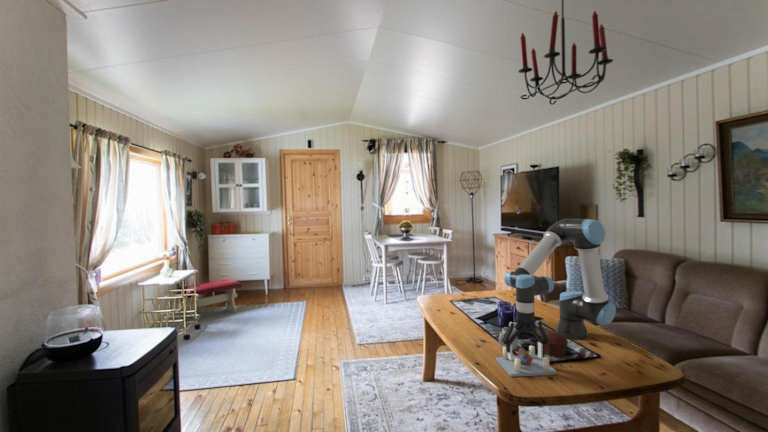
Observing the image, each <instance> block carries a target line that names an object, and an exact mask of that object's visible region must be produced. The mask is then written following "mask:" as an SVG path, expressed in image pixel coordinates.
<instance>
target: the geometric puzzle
mask: <svg viewBox="0 0 768 432" xmlns="http://www.w3.org/2000/svg"><path fill="white" fill-rule="evenodd" d="M529 353H530V350H529V349H528V350H526V349H524V348H522V347H520V348H519V349H518V350H517V354H516V355H515V356H517V357H519V358H520V359H521V365H522V363H525V362H526V363H527V365H529V366H530V365H531V362H532V360H533V359H534V358H533V357H532V356H530V355H529Z"/></svg>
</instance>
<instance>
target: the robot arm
mask: <svg viewBox="0 0 768 432" xmlns="http://www.w3.org/2000/svg"><path fill="white" fill-rule="evenodd" d="M605 237H606V231H605V228H604V225H603V224H602V223H601V222H600V221H598V220H597V219H590V218H563V219H561V220H559V221H557V222H555V223H554V224H552V225H551V226H550V227H548V228H547V229H546V231H544V233H543V238H542V239H541V240H540V241H539V242H538V243H537V244H536V245H535V247H534V248H533V249H532V250H531V251H530V253H529V254H528V255H527V256H526V257H525V258H524V260H523V261H522V262H521V263H520V264H519V265H518V267H517V268H516V269H515V270H514V271H513V270H510V271H509V270H508V271H507V272H506V273H505V275H504V280H503V281H504V283H505V284H506V286H508V287H509V288H512V289H515V322H512V321H508V326H507V327H508V328H507V330H506V333H505V335H504V337H503V339H502V342H503V343H504V344H506V351H507V352H508V358H509V360H510V361H512V357H513V350H512V345H511V344H512V342H513V341H514V340H515V339H516V337H517V336H518V337H519V335H521V333H532V334H533V335H534V337H536V339H537V340H538V342H537V355H538V357H539V358H540V359H543V356H544V355H543V353H544V345H545V344H546V342H549V340H548V338H547V336H546V334H545V333H546V332H545V330H544V328H543V324H542V323H543V322H542V321H540V320H539V319H537V320H536V321H535V297H536V296H541V295H547V294H549V293H552V292H553V291H554V289H555V281H554V280H553V279H552V278H551V277H549V276H546V275H545V276H543V275H542V276H536V275H534V274H535V273H536V272H537V271H538V269H540V267H541V266H542V265H543V263H545V261H546V260H547V259H548V257H550V255H551V254H552V253H553V251H555V249H556V248H557V247H560V246H561V245H562V244H563V243H565V242H571V243H573V248H574V249H575V250H577V252H578V253H577V254H578V259H579V264H580V271H581V277H582V285H583V290H584V292H583V291H575V290H574V291H571V290H570V291H563V292H561V293H560V294H559V320H558V322H557V325H556V327H555V332H559V333H561V334H562V335H564V336H565V337H566V339H570V340H585V339H587V338H588V336H589V333H588V330H587V328H586V324H585V320H586V321H589V322H592V323H595V324H598V325H603V326H607V325H610V324H611V323H612V321H613V320H614V318H615V316H616V313H617V312H616V310H617V306H616V305H615V304H614V302H611V301H610V298H609V296H608V294H607V293H605V289H604V283H603V282H604V281H603V274H602V268H601V261H600V256H599V254H600V253H599V248H600V247H601V246H602V243H603V242H604V241H605ZM535 326H536V327H537V330H538V331H539V333H538V332H537V331H536V330H535V329H534V327H535ZM513 328H515V331H514V332H513V333H512V331H513ZM511 333H512V334H511ZM510 335H511V336H510ZM540 335H541V336H540ZM541 337H543V339H542V338H541Z"/></svg>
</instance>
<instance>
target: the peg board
mask: <svg viewBox="0 0 768 432" xmlns="http://www.w3.org/2000/svg"><path fill="white" fill-rule="evenodd" d="M535 347H536V346H534V345H529V346H528V351H529V350H530V353H529V355H530V356H532V357H533V358H534V359H533V360H532V362H531V365H530V366H529V365H527V363H526V362H525V363H522V365H521V359H520V358H519V357H517V356H516V355H515V356H512V361H510V360H509V358H508V352H507V351H506V347H503V346H502V356H498V357H495V361H496V362H497V363H498V364H499V365H500V366H501V367H502V369H503V370H504V371H505V372H506V373H507V374H508V376H509V377H510V378H513V377H514V378H515V377H532V376H552V375H553V376H555V375H558V371H557V370H555V368H554V367H552V366H551V365H550V358H549V357H546V356H544V357H543V359H540V358H539V357H538V354H537V355H536V348H535Z"/></svg>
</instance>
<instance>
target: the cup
mask: <svg viewBox="0 0 768 432" xmlns="http://www.w3.org/2000/svg"><path fill="white" fill-rule="evenodd" d="M507 328H508V326H504V327H502V329H501V330H502V331H501V333H500V334H499V337H498V344H500V346H502V348H503V347H506V344H504V343H503V342H502V339H503V337H504V335H505V333H506V330H507ZM515 328H516V327H514V328H513V331H512V333H513V332H514V331H515ZM512 333H511V334H512ZM510 336H511V335H510ZM518 337H519V335H518V336H517V337H516V339H515V340H514V341H513V342H512V344H511V345H512V351H514V349H515V350H517V349H518V344H519V343H518Z"/></svg>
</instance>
